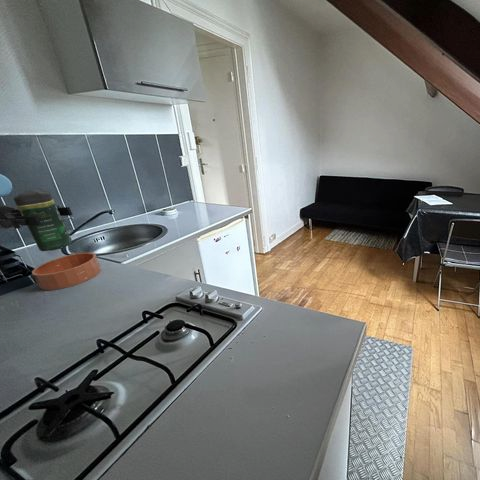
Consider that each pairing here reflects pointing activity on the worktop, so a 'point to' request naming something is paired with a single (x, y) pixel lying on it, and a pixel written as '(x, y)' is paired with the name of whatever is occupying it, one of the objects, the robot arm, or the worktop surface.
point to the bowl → (66, 271)
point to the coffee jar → (43, 219)
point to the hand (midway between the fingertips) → (54, 215)
